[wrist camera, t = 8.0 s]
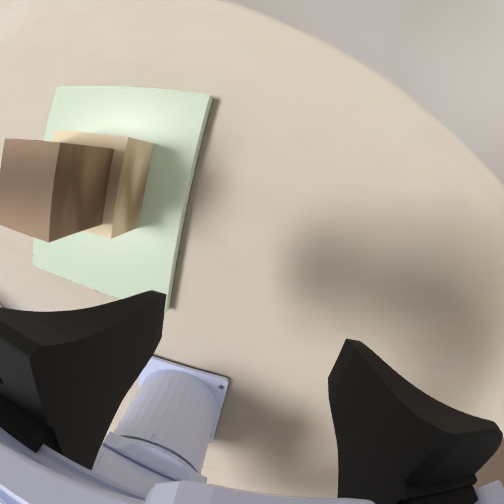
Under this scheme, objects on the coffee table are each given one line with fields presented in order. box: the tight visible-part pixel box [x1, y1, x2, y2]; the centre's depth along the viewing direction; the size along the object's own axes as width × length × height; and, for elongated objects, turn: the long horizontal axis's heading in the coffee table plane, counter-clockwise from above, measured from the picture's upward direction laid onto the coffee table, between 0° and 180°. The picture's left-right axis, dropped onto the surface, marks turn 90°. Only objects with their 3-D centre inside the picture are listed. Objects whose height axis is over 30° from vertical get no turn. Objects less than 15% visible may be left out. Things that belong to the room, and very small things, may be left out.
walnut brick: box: [0, 139, 114, 243], centre depth 13 cm, size 4×4×5 cm
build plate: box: [33, 86, 213, 313], centre depth 20 cm, size 16×14×1 cm
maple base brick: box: [53, 130, 155, 239], centre depth 17 cm, size 6×6×4 cm
